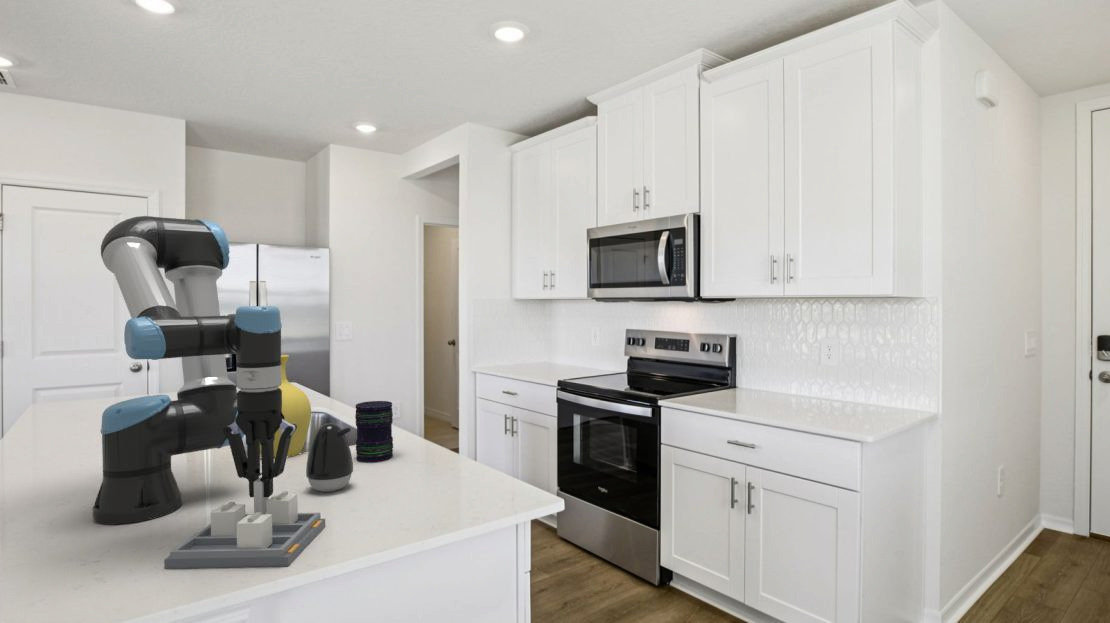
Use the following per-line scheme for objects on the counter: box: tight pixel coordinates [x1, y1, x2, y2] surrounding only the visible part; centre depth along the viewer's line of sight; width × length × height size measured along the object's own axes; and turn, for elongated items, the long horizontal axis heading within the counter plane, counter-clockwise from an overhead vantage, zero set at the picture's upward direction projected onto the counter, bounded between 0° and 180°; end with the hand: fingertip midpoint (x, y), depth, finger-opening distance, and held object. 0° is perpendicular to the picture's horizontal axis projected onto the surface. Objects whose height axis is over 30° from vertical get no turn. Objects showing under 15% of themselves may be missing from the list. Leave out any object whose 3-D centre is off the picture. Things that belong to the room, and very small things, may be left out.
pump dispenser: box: [305, 422, 354, 493], centre depth 137 cm, size 10×10×15 cm
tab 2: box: [237, 512, 272, 549], centre depth 100 cm, size 4×4×6 cm
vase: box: [260, 354, 312, 459], centre depth 168 cm, size 16×16×28 cm
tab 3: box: [266, 490, 299, 524], centre depth 111 cm, size 4×4×6 cm
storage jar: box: [354, 400, 394, 464], centre depth 163 cm, size 10×10×15 cm
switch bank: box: [163, 512, 326, 569], centre depth 106 cm, size 20×17×3 cm
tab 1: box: [210, 501, 246, 537], centre depth 105 cm, size 4×4×6 cm
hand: (261, 513), depth 111 cm, fingers closed
